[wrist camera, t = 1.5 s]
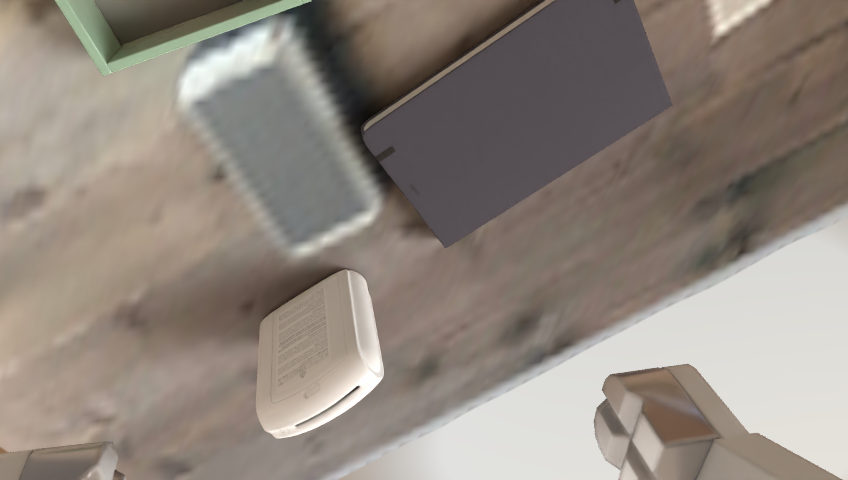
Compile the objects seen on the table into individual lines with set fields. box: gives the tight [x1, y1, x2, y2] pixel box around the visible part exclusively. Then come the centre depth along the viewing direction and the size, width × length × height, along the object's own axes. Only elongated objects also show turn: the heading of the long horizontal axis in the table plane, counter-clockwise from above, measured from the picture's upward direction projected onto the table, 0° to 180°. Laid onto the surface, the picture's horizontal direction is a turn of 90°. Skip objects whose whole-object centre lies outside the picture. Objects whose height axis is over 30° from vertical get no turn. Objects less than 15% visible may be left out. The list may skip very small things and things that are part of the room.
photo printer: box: [256, 269, 384, 438], centre depth 48 cm, size 10×4×12 cm, turn 122°
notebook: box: [361, 0, 672, 248], centre depth 46 cm, size 13×2×21 cm
